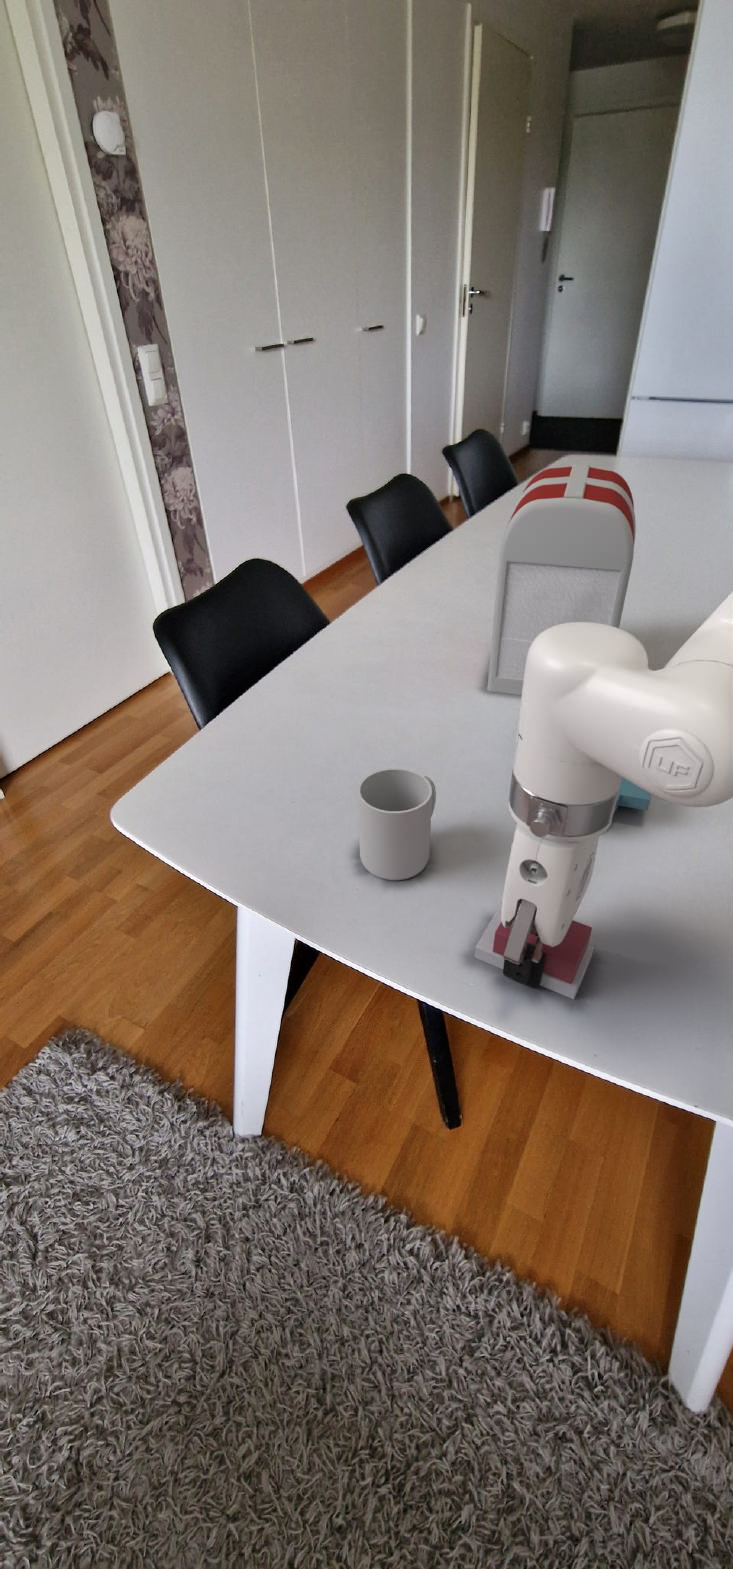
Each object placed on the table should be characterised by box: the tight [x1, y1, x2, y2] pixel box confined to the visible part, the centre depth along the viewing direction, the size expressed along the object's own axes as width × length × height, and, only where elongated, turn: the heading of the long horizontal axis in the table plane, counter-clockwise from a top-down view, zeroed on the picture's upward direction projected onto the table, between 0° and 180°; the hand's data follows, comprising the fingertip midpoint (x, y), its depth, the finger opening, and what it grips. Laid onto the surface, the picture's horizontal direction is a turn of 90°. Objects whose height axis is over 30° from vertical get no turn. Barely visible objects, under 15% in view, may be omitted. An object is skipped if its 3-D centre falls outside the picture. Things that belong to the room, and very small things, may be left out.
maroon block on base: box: [474, 909, 594, 1000], centre depth 61 cm, size 9×5×4 cm, turn 60°
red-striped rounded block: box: [486, 463, 637, 696], centre depth 97 cm, size 16×18×27 cm
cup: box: [356, 767, 437, 881], centre depth 71 cm, size 7×10×9 cm
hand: (533, 954), depth 62 cm, fingers closed on maroon block on base, 5 cm apart
